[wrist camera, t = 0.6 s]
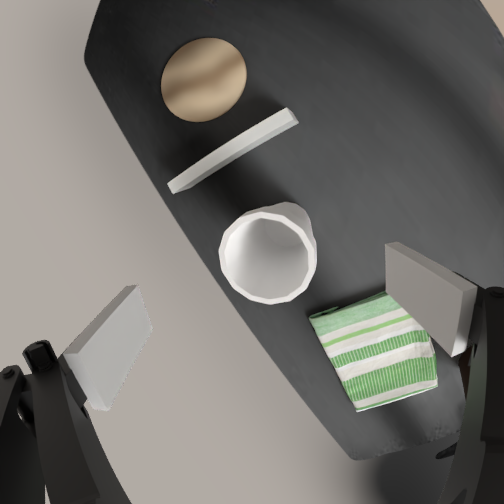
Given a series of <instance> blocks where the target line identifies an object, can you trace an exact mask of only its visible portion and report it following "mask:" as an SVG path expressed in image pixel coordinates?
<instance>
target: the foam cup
mask: <svg viewBox="0 0 504 504" xmlns="http://www.w3.org/2000/svg"><path fill="white" fill-rule="evenodd" d="M219 257H220V263H221V269H222V272H223V274H224V275H225V277H226V278H227V280H228V281H229V283H230V284H231V286H232V287H233V288H234V289H235V290H237V291H238V292H239V293H241V294H242V295H244V296H245V297H246V298H248V299H249V300H253V301H257V302H261V303H265V304H276V303H282V302H287V301H291V300H292V299H293V298H295V297H296V296H298V295H299V294H300V293H302V292H303V291H305V290H306V288H307V286H308V284H309V282H310V280H311V278H312V276H313V274H314V272H315V269H316V263H317V254H316V241H315V239H314V237H313V233H312V228H311V222H310V218H309V217H308V215H307V213H306V211H305V210H304V209H303V208H301V207H300V206H299V205H297V204H295V203H290V202H283V203H279V204H275V205H272V206H269V207H268V206H265V207H262V208H258V209H255V210H251V211H248V212H246V213H244V214H243V215H242V216H241V217H239V218H238V219H237V220H236V221H235V222H234V223H233V224H232V225H231V226H230V227H229V228H228V229H227V230H226V231H225V232H224V235H223V238H222V241H221V245H220V248H219Z"/></svg>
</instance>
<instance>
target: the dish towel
mask: <svg viewBox="0 0 504 504" xmlns="http://www.w3.org/2000/svg"><path fill="white" fill-rule="evenodd" d="M336 308H338V307H335V308H332V309H329V310H326V311H323V312H320V313H317V314H314V315H312V316H310V317H309V320H310V322H311V324H312V326H313V327H314V329H315V332H316V334H317V336H318V338H319V340H320V342H321V344H322V346H323V348H324V350H325V352H326V354H327V355H328V357H329V359H330V361H331V363H332V364H333V366H334V368H335V370H336V372H337V374H338V376H339V378H340V380H341V383H342V385H343V387H344V389H345V391H346V393H347V395H348V396H349V398H350V400H351V401H352V402H353V404H354V406H355V409H356V411H357V412H359V411H363V410H366V409H369V408H372V407H376V406H380V405H383V404H387V403H390V402H393V401H396V400H400V399H403V398H406V397H409V396H412V395H415V394H418V393H421V392H424V391H427V390H429V389H432V388H435V387H437V386H438V384H437V380H438V379H437V373H436V355H435V351H434V348H433V345H432V342H431V338H430V335H429V334H428V333H427V332H426V331H425V330H424V329H423V328H422V327H421V326H420V325H419V324H418V323H417V322H416V321H415V320H414V319H413V318H412V317H411V316H410V315H409V314H408V313H407V312H406V311H405V310H404V309H403V308H402V307H401V306H400V305H399V304H398V303H397V302H396V301H395V300H394V299H393V298H392V297H391V296H390V295H389V294H387V293H386V291H383V292H381V293H379V294H376V295H374V296H371V297H369V298H366V299H364V300H361V301H359V302H356V303H354V304H351V305H349V306H346V307H344V308H341V309H339V310H336V311H334V310H335V309H336ZM324 312H329V314H326V315H321V314H322V313H324Z"/></svg>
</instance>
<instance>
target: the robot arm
mask: <svg viewBox="0 0 504 504" xmlns="http://www.w3.org/2000/svg"><path fill="white" fill-rule="evenodd" d="M385 258H386V293H387V294H389V295H390V296H391V297H392V298H393V299H394V300H395V301H396V302H397V303H398V304H399V305H400V306H401V307H402V308H403V309H404V310H405V311H406V312H407V313H408V314H409V315H410V316H411V317H412V318H413V319H414V320H415V321H416V322H417V323H418V324H419V325H420V326H421V327H422V328H423V329H424V330H425V331H426V332H427V333H428V334H429V335H430V336H431V337H432V338H433V339H434V340H435V341H436V342H437V343H438V344H439V345H440V346H441V347H442V348H443V349H444V350H445V351H446V352H447V353H448V354H449V355H450V356H451V357H453V356H455V355H457V354H460V353H462V352H464V351H465V350H466V346H467V342H468V338H470V339H471V340H472V341H473V342H474V344H473V348H472V352H471V356H470V359H469V363H468V366H470V365H471V368H470V377H469V385H468V393H467V399H466V405H465V411H464V417H463V422H462V426H461V431H460V436H459V440H458V444H457V448H456V451H455V455H454V459H453V462H452V465H451V469H450V472H449V475H448V478H447V481H446V484H445V487H444V489H443V492H442V494H441V497H440V499H439V501H438V502H437V504H504V288H502V287H489V288H487V289H484V288H482V287H480V286H479V285H477V284H475V283H474V282H472V281H470V280H469V279H467V278H464V277H463V276H462V275H460V274H458V273H456V272H453V271H450V270H448V269H447V268H445V267H443V266H441V265H439V264H438V263H436V262H434V261H432V260H430V259H429V258H427V257H425V256H423V255H421V254H419V253H418V252H416V251H414V250H412V249H410V248H408V247H406V246H404V245H402V244H401V243H399V242H393V243H388V244H385ZM152 330H153V329H152V326H151V322H150V319H149V316H148V314H147V311H146V307H145V304H144V301H143V298H142V295H141V291H140V288H139V285H132V286H126V287H125V288H124V289H123V290H122V291H121V292H120V293H119V294H118V295H117V296H116V297H115V298H114V299H113V300H112V301H111V302H110V303H109V304H108V305H107V306H106V307H105V308H104V309H103V310H102V312H101V313H100V314H99V315H98V316H97V317H96V318H95V319H94V320H93V321H92V322H91V323H90V324H89V325H88V326H87V327H86V328H85V329H84V331H83V332H82V333H81V334H80V335H79V336H78V337H77V338H76V339H75V340H74V341H73V342H72V343H71V344H70V345H69V347H68V348H67V349H66V350H65V351H64V352H63V353H62V354H61V355H60V357H59V358H58V359H57V357H56V355H55V353H54V351H53V349H52V347H51V344H50V342H49V341H47V340H41V341H37V342H35V343H33V344H31V345H29V346H28V347H27V348H26V349H25V350H24V351H23V353H22V354H23V356H24V358H25V360H26V362H27V364H28V366H29V368H30V370H31V371H32V374H28V375H24V374H23V372H22V371H21V369H20V367H19V366H17V365H13V366H8V367H6V368H4V369H3V371H1V372H0V504H45V485H46V488H47V493H48V496H49V500H50V504H132V503H131V502H130V500H129V499H128V497H127V495H126V493H125V492H124V490H123V488H122V486H121V484H120V483H119V481H118V479H117V477H116V475H115V473H114V471H113V469H112V467H111V465H110V463H109V461H108V459H107V457H106V455H105V453H104V450H103V448H102V446H101V444H100V441H99V439H98V437H97V435H96V432H95V429H94V427H93V425H92V422H91V419H90V417H89V414H88V412H87V410H86V408H85V407H84V403H85V401H86V400H87V399H88V401H89V403H90V404H91V406H92V407H93V409H94V410H103V411H109V410H110V408H111V406H112V404H113V402H114V400H115V398H116V396H117V394H118V392H119V391H120V389H121V387H122V385H123V383H124V381H125V379H126V377H127V376H128V373H129V372H130V370H131V368H132V366H133V364H134V363H135V361H136V359H137V357H138V355H139V354H140V352H141V349H142V348H143V346H144V345H145V343H146V341H147V339H148V337H149V336H150V334H151V332H152ZM18 413H19V414H20V416H21V417H22V420H21V419H20V417H19V415H18Z"/></svg>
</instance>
